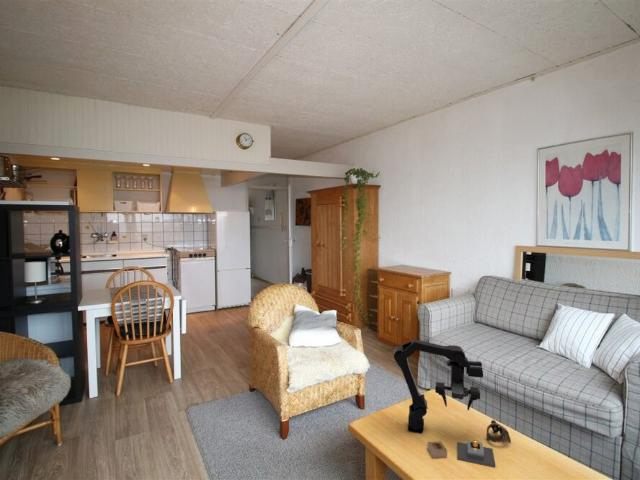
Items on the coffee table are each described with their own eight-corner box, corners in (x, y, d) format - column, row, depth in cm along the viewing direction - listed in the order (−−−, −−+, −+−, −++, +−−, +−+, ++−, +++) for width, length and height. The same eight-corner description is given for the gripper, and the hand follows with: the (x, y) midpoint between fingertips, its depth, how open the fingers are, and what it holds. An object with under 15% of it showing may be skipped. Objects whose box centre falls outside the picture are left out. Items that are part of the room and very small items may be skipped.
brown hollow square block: (432, 458, 145) (433, 451, 145) (427, 448, 151) (427, 442, 151) (447, 457, 146) (447, 450, 146) (440, 447, 152) (440, 441, 152)
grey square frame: (467, 455, 145) (467, 448, 145) (466, 446, 151) (467, 439, 150) (483, 458, 143) (483, 451, 143) (482, 449, 149) (482, 442, 148)
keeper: (457, 459, 145) (457, 445, 144) (456, 444, 154) (457, 430, 153) (495, 467, 140) (495, 452, 139) (492, 451, 149) (492, 437, 149)
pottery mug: (516, 448, 152) (510, 434, 150) (495, 455, 154) (488, 442, 151) (503, 425, 163) (497, 412, 161) (484, 432, 165) (477, 419, 163)
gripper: (435, 380, 155) (434, 414, 156) (481, 386, 149) (480, 422, 150) (435, 369, 165) (435, 401, 167) (479, 375, 159) (478, 408, 160)
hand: (456, 408), depth 160 cm, fingers open, 9 cm apart
